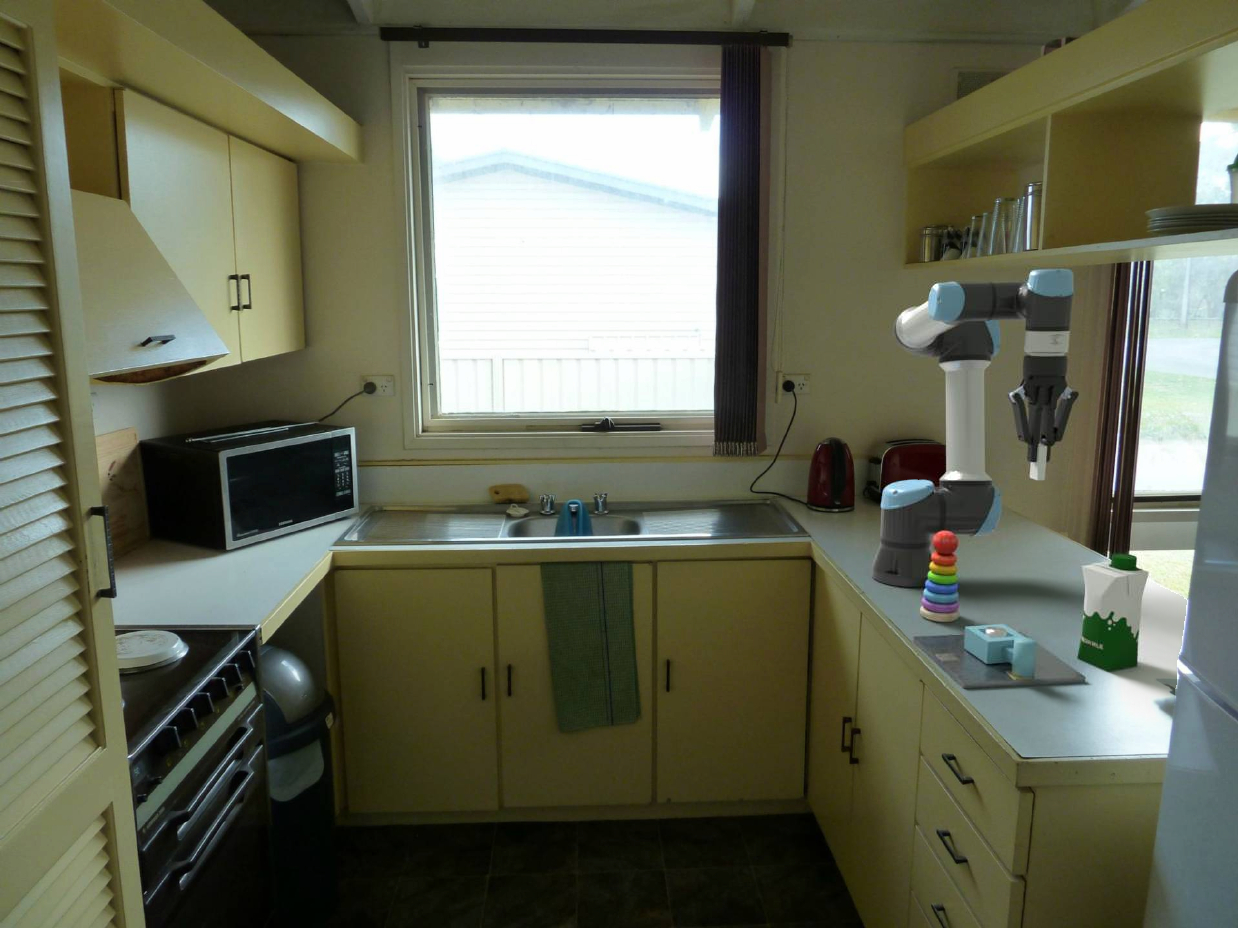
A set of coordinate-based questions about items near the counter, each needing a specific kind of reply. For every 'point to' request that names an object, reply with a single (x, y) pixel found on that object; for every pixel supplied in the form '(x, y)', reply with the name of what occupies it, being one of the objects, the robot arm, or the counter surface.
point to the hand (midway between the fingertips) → (1037, 478)
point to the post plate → (980, 674)
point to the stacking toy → (942, 581)
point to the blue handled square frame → (1002, 648)
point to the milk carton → (1112, 613)
